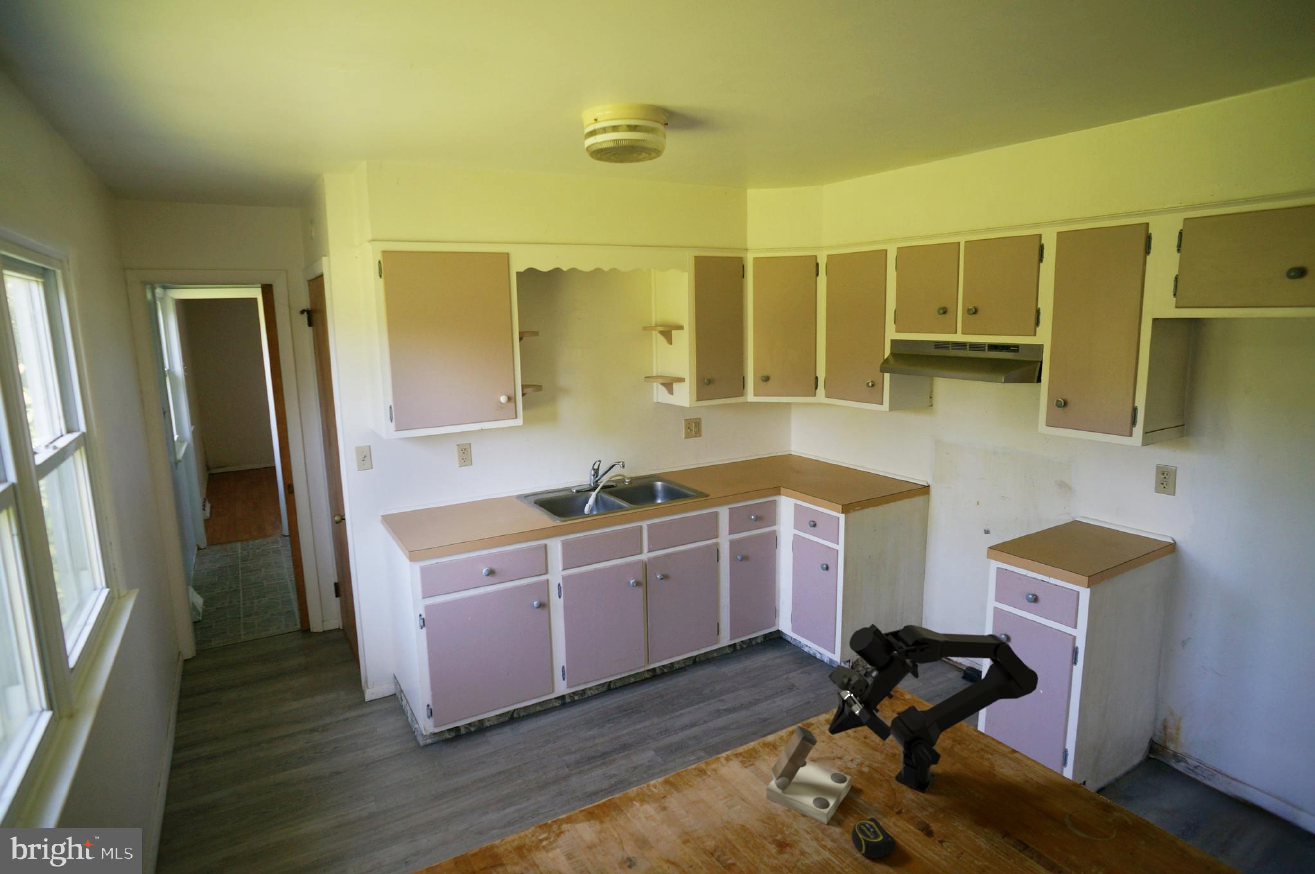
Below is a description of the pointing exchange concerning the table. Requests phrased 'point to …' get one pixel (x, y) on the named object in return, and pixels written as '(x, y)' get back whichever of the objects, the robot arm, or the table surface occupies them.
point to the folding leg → (792, 757)
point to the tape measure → (872, 839)
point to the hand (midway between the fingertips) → (830, 732)
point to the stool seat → (812, 791)
